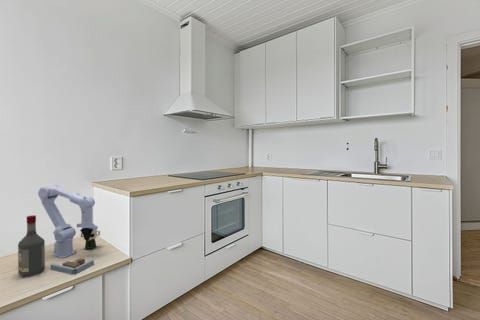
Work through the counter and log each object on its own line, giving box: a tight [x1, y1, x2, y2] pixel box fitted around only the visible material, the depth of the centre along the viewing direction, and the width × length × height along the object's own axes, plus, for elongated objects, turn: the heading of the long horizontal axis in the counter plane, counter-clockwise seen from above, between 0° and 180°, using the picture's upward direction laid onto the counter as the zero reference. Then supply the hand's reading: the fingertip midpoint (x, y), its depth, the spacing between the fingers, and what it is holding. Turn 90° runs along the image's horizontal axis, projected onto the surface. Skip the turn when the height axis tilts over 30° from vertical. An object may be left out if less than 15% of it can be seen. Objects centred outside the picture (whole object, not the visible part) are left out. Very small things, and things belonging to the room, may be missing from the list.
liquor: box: [17, 214, 46, 278], centre depth 120 cm, size 9×9×30 cm
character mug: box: [80, 229, 101, 250], centre depth 152 cm, size 11×7×13 cm, turn 113°
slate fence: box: [49, 259, 95, 275], centre depth 128 cm, size 17×12×2 cm
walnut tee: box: [61, 257, 86, 268], centre depth 127 cm, size 8×9×4 cm
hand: (87, 239), depth 141 cm, fingers closed
